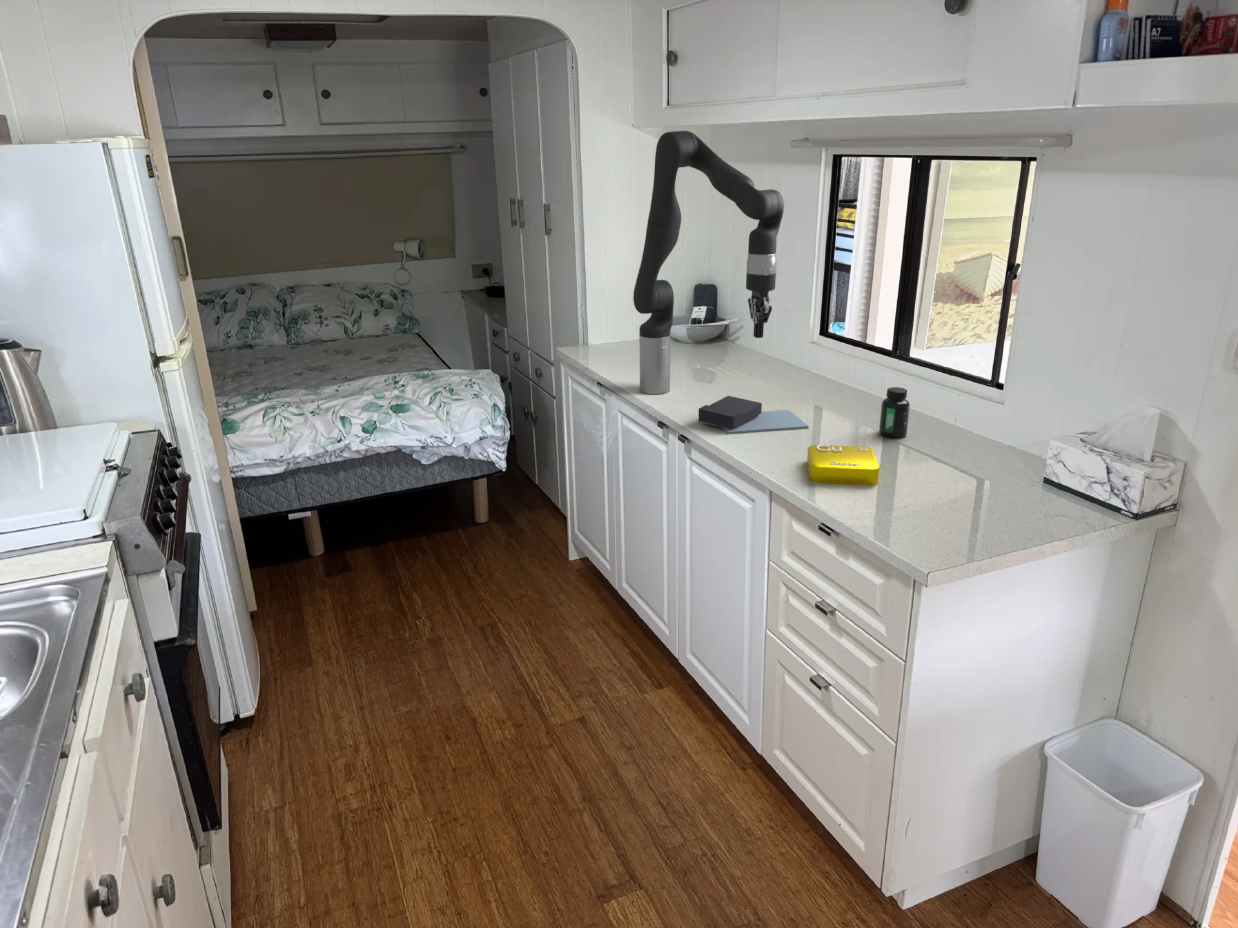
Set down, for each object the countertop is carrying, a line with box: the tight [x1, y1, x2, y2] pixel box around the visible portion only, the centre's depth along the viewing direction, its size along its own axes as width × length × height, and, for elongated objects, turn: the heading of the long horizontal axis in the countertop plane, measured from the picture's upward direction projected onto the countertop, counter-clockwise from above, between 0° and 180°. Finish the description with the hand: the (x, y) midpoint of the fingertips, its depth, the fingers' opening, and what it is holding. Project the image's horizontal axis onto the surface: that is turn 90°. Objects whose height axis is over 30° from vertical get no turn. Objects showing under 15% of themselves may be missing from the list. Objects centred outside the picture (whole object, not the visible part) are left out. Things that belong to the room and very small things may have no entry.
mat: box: [721, 409, 810, 435], centre depth 231 cm, size 15×22×1 cm
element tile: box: [806, 444, 880, 486], centre depth 196 cm, size 15×15×5 cm
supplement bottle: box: [878, 386, 911, 440], centre depth 218 cm, size 7×7×12 cm
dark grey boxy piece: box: [698, 395, 763, 430], centre depth 231 cm, size 11×4×15 cm
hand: (758, 337), depth 227 cm, fingers closed
